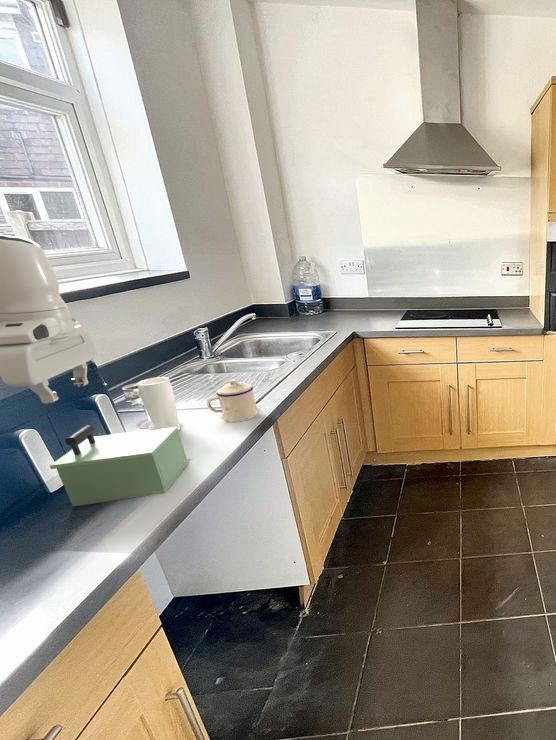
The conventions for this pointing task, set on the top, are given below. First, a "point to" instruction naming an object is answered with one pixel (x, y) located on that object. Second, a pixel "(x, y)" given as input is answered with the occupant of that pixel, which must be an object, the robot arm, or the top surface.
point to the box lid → (112, 446)
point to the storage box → (125, 476)
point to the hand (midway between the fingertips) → (67, 393)
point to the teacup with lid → (235, 401)
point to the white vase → (159, 402)
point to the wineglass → (136, 400)
